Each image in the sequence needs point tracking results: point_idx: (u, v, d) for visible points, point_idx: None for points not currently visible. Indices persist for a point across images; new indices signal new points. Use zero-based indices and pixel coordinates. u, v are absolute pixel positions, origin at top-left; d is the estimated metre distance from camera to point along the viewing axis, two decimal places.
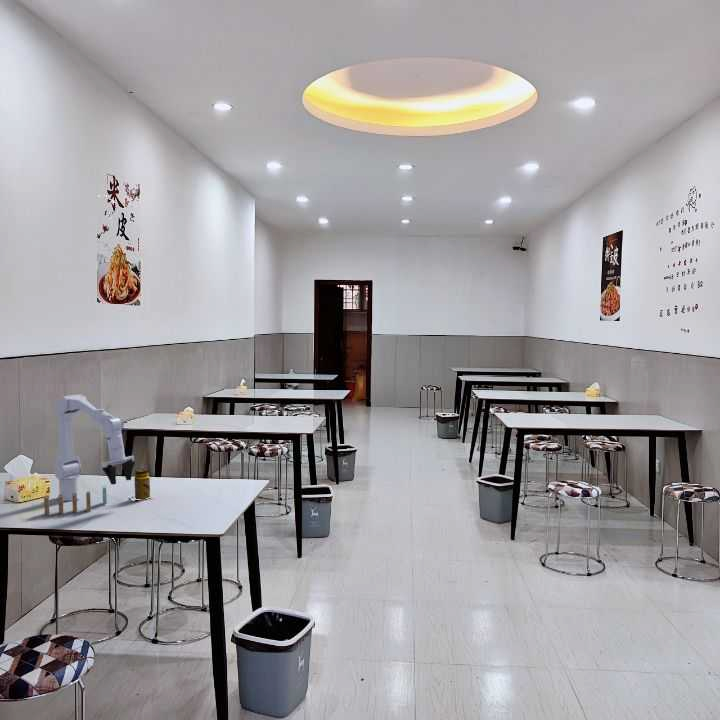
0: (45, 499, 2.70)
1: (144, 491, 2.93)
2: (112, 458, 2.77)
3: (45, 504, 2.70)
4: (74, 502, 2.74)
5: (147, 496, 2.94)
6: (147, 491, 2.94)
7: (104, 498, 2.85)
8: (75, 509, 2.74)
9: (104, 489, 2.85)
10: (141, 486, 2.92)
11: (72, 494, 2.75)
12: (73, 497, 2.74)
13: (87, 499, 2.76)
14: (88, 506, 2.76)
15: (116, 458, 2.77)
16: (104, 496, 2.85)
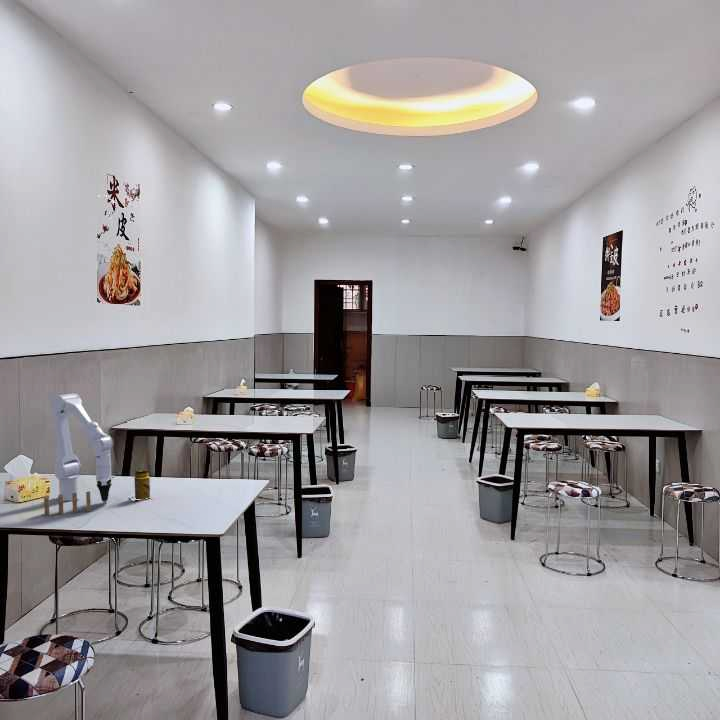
0: (45, 499, 2.70)
1: (144, 491, 2.93)
2: (104, 476, 2.84)
3: (45, 504, 2.70)
4: (74, 502, 2.74)
5: (147, 496, 2.94)
6: (147, 491, 2.94)
7: None
8: (75, 509, 2.74)
9: None
10: (141, 486, 2.92)
11: (72, 494, 2.75)
12: (73, 497, 2.74)
13: (87, 499, 2.76)
14: (88, 506, 2.76)
15: (108, 476, 2.85)
16: None
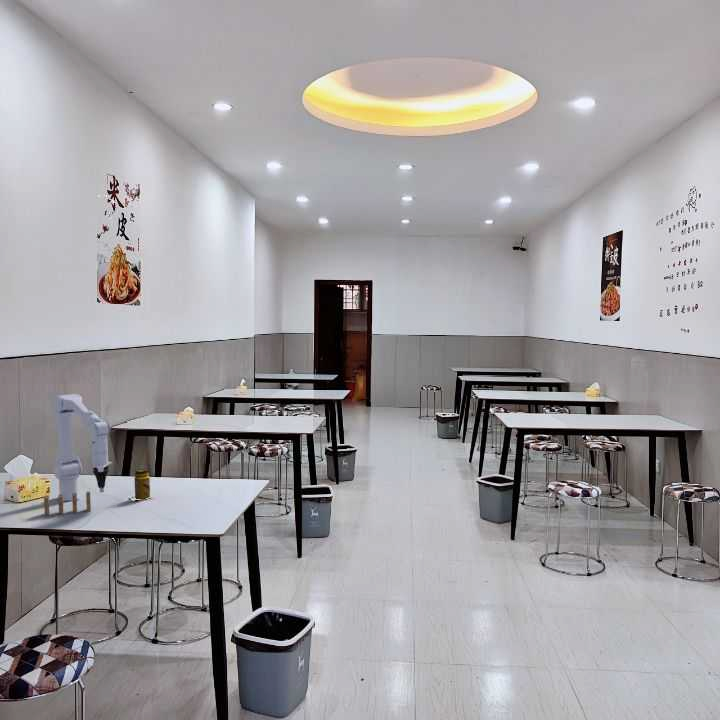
0: (45, 499, 2.70)
1: (144, 491, 2.93)
2: (101, 462, 2.76)
3: (45, 504, 2.70)
4: (74, 502, 2.74)
5: (147, 496, 2.94)
6: (147, 491, 2.94)
7: None
8: (75, 509, 2.74)
9: None
10: (141, 486, 2.92)
11: (72, 494, 2.75)
12: (73, 497, 2.74)
13: (87, 499, 2.76)
14: (88, 506, 2.76)
15: (105, 462, 2.77)
16: None
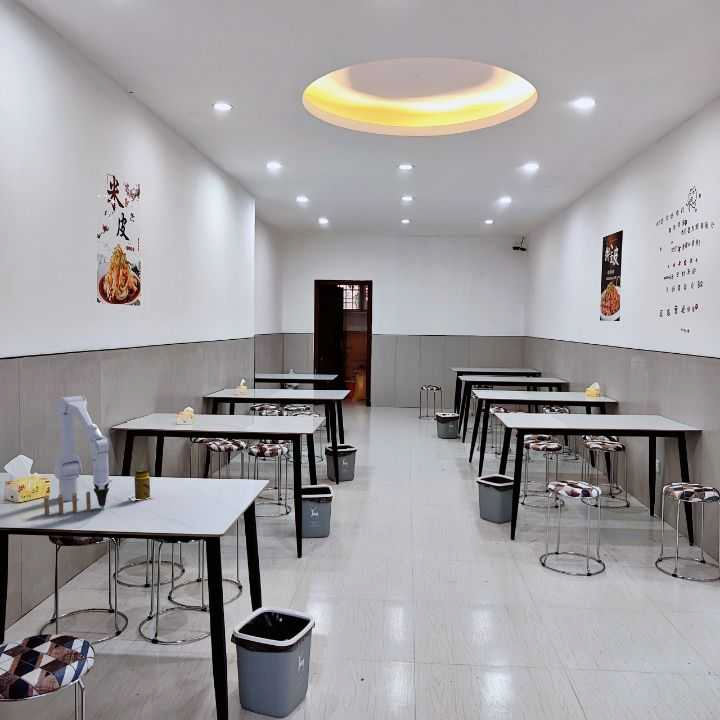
0: (45, 499, 2.70)
1: (144, 491, 2.93)
2: (102, 480, 2.76)
3: (45, 504, 2.70)
4: (74, 502, 2.74)
5: (147, 496, 2.94)
6: (147, 491, 2.94)
7: None
8: (75, 509, 2.74)
9: None
10: (141, 486, 2.92)
11: (72, 494, 2.75)
12: (73, 497, 2.74)
13: (87, 499, 2.76)
14: (88, 506, 2.76)
15: (106, 480, 2.78)
16: None
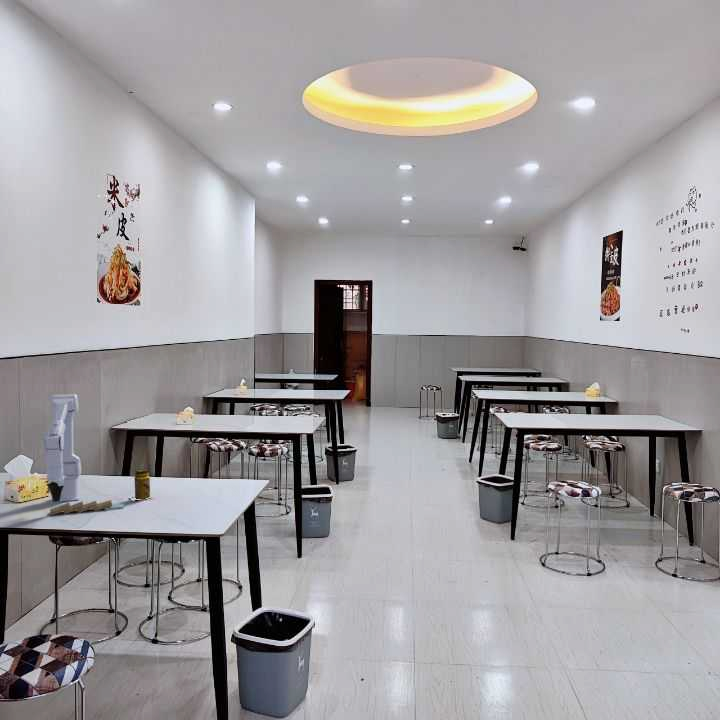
0: (67, 506, 2.73)
1: (144, 491, 2.93)
2: (58, 476, 2.71)
3: (62, 508, 2.73)
4: (89, 507, 2.76)
5: (147, 496, 2.94)
6: (147, 491, 2.94)
7: None
8: (82, 510, 2.75)
9: None
10: (141, 486, 2.92)
11: (95, 502, 2.79)
12: (94, 505, 2.77)
13: (106, 505, 2.78)
14: (99, 508, 2.77)
15: (62, 476, 2.73)
16: (114, 508, 2.79)
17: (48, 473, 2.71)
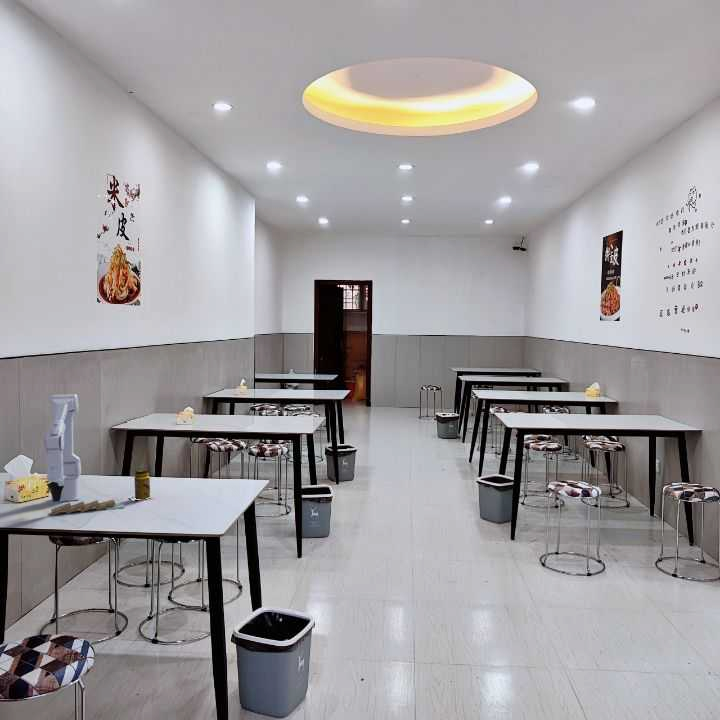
0: (69, 506, 2.74)
1: (144, 491, 2.93)
2: (58, 476, 2.71)
3: (64, 508, 2.73)
4: (91, 506, 2.77)
5: (147, 496, 2.94)
6: (147, 491, 2.94)
7: None
8: (84, 510, 2.76)
9: None
10: (141, 486, 2.92)
11: (97, 501, 2.80)
12: (96, 504, 2.78)
13: (109, 504, 2.80)
14: (102, 506, 2.79)
15: (62, 476, 2.73)
16: None
17: (48, 473, 2.71)
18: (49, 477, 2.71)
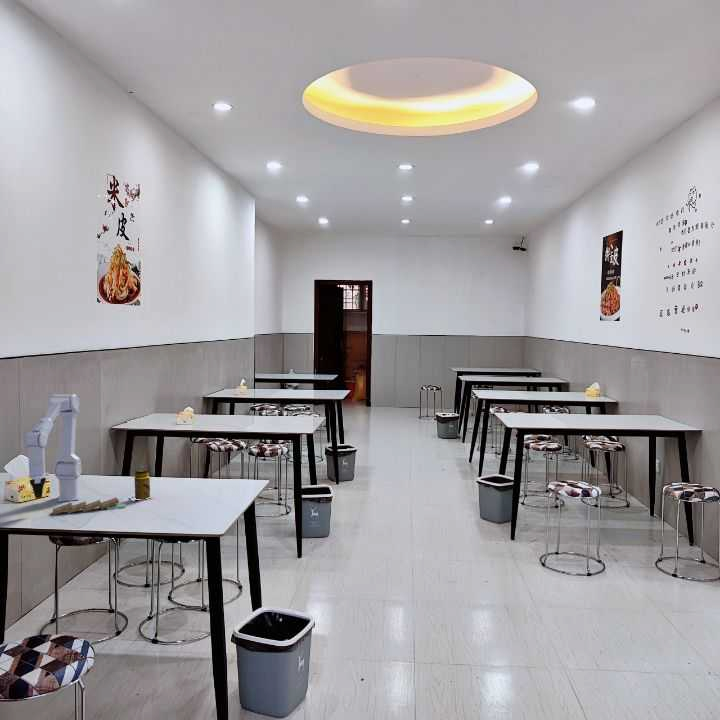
0: (70, 506, 2.74)
1: (144, 491, 2.93)
2: (38, 473, 2.70)
3: (65, 508, 2.73)
4: (94, 506, 2.77)
5: (147, 496, 2.94)
6: (147, 491, 2.94)
7: (114, 508, 2.80)
8: (87, 509, 2.76)
9: None
10: (141, 486, 2.92)
11: None
12: (99, 504, 2.78)
13: (113, 502, 2.80)
14: (106, 505, 2.79)
15: (42, 473, 2.71)
16: None
17: (29, 469, 2.70)
18: (29, 473, 2.70)
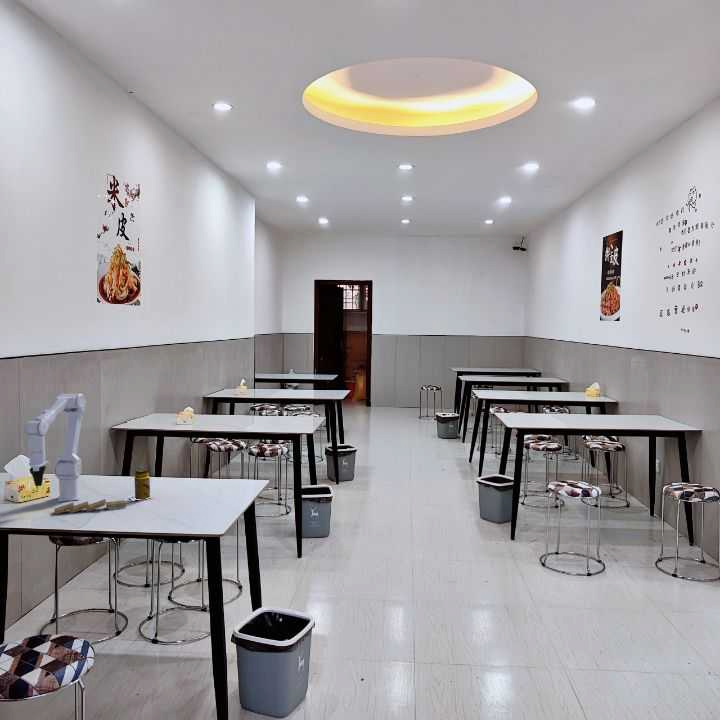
0: (72, 506, 2.74)
1: (144, 491, 2.93)
2: (37, 461, 2.73)
3: (67, 508, 2.74)
4: (97, 506, 2.77)
5: (147, 496, 2.94)
6: (147, 491, 2.94)
7: None
8: (90, 509, 2.76)
9: None
10: (141, 486, 2.92)
11: (104, 500, 2.79)
12: (102, 503, 2.77)
13: (120, 504, 2.80)
14: (113, 505, 2.79)
15: (42, 461, 2.74)
16: None
17: (29, 457, 2.73)
18: (29, 461, 2.73)
